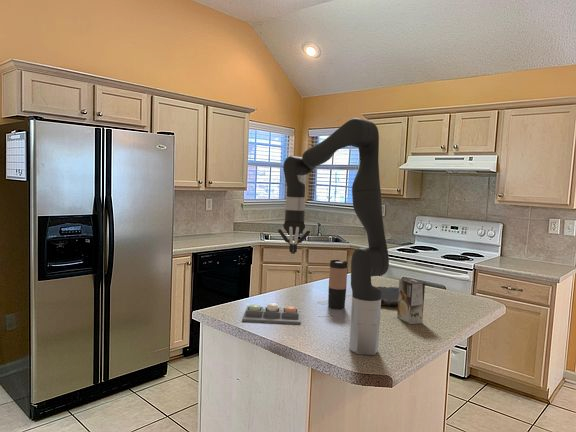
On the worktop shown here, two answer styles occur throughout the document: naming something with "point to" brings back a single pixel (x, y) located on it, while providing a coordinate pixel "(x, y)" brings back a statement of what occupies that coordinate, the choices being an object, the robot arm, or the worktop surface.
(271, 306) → the cream button
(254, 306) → the sage button
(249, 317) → the button panel
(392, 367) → the worktop surface
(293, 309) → the terracotta button
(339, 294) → the travel mug
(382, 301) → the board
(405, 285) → the coffee box
